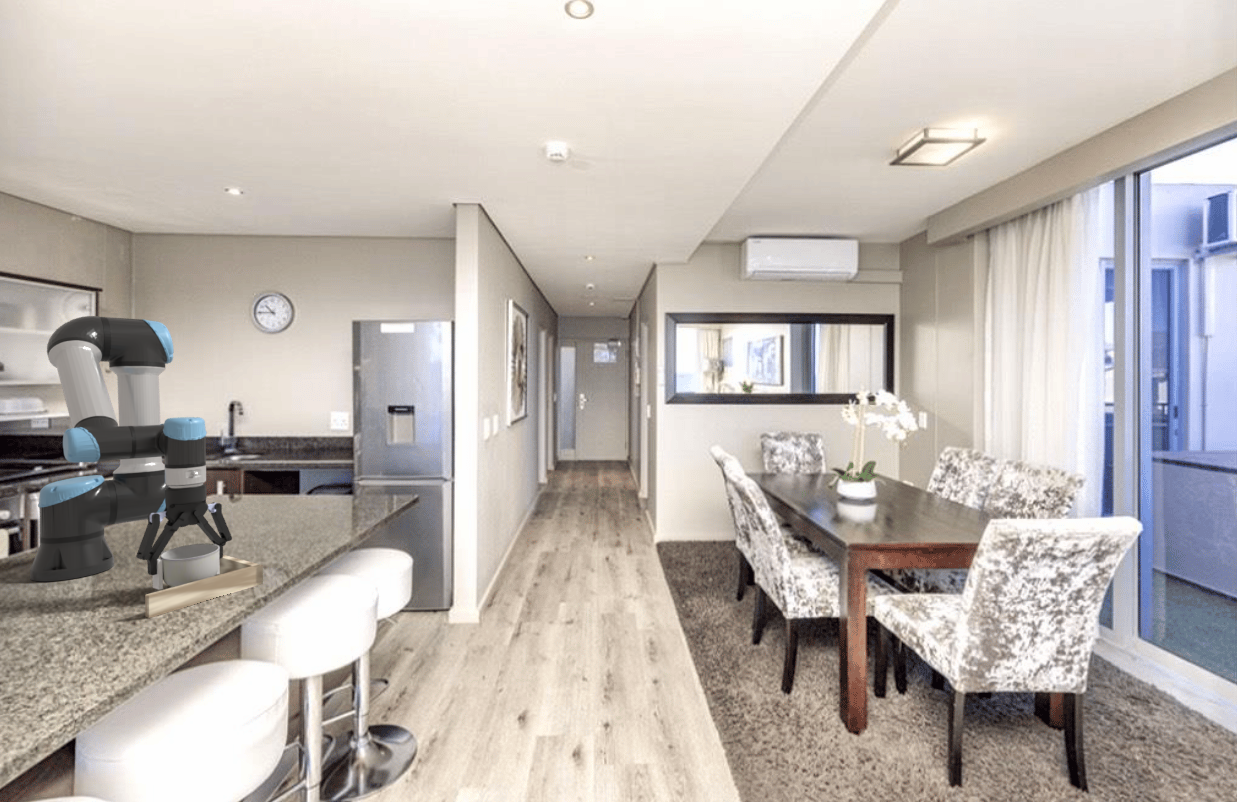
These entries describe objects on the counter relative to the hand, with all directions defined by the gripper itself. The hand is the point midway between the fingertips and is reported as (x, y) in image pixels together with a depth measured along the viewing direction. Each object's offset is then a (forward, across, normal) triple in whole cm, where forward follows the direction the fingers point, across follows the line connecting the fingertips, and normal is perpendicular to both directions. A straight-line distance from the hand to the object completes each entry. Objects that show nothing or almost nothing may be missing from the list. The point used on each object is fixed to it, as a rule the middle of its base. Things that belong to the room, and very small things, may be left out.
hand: (187, 580), depth 130 cm
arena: (+2, -1, -1) cm, 3 cm away
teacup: (+1, 0, 0) cm, 1 cm away
